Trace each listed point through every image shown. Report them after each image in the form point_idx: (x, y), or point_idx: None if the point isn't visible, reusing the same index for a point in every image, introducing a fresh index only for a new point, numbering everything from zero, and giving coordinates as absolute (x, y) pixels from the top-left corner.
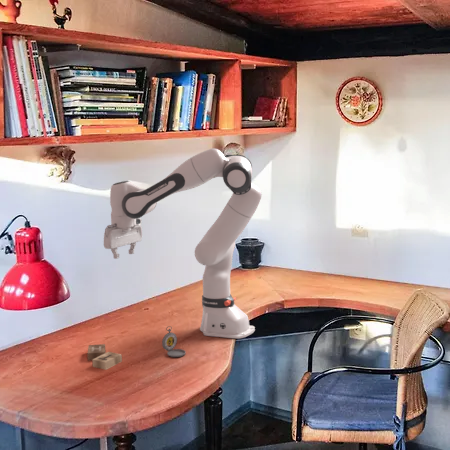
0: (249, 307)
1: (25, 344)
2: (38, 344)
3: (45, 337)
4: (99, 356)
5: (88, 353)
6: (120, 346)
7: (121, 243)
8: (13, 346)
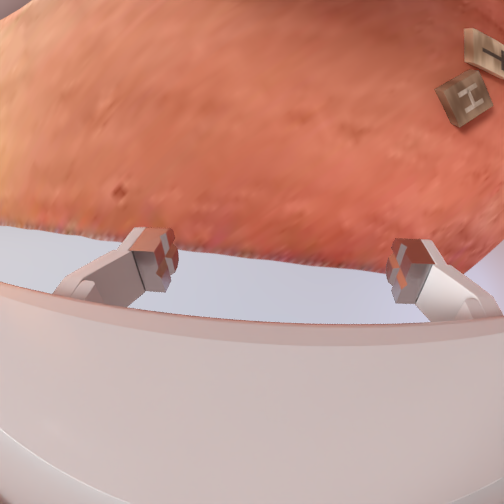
0: (14, 23)
1: None
2: None
3: None
4: (496, 72)
5: (492, 103)
6: (398, 66)
7: (458, 359)
8: None
